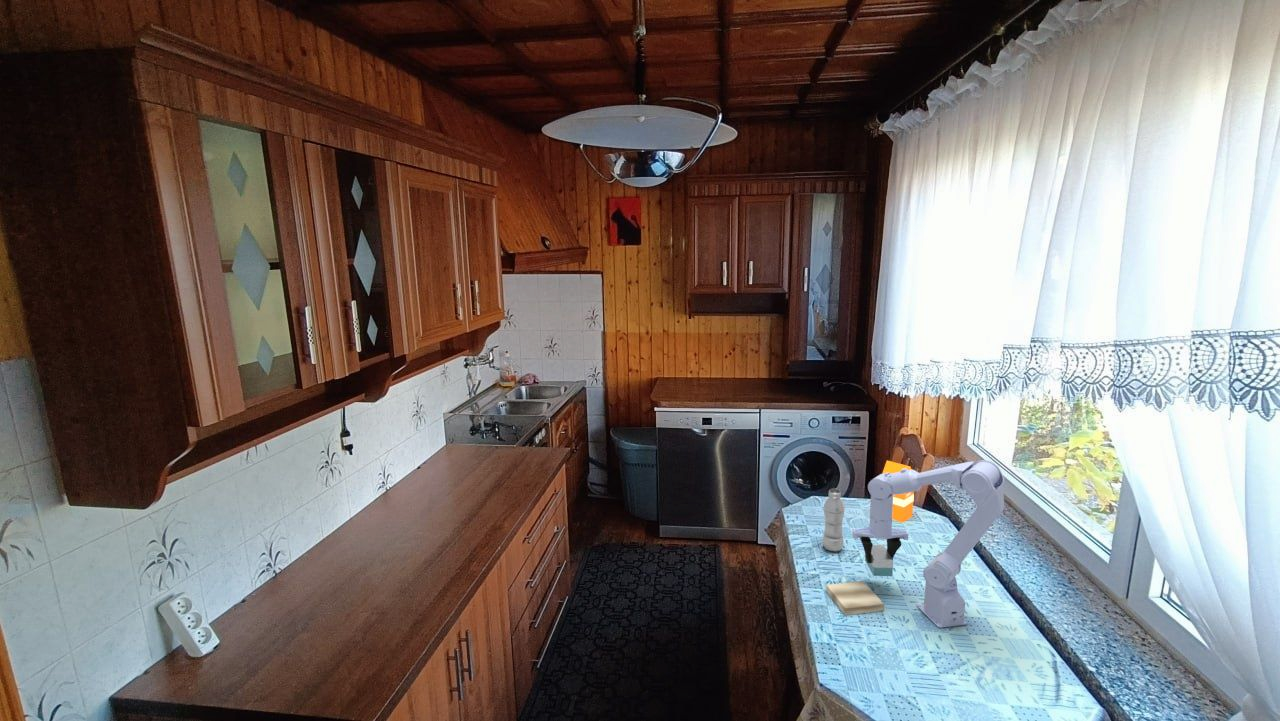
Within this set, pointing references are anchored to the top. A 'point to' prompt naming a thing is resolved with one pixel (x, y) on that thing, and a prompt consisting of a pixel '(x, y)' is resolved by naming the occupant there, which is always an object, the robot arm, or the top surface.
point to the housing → (880, 561)
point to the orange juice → (900, 495)
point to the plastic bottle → (833, 521)
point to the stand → (854, 598)
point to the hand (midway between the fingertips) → (878, 561)
